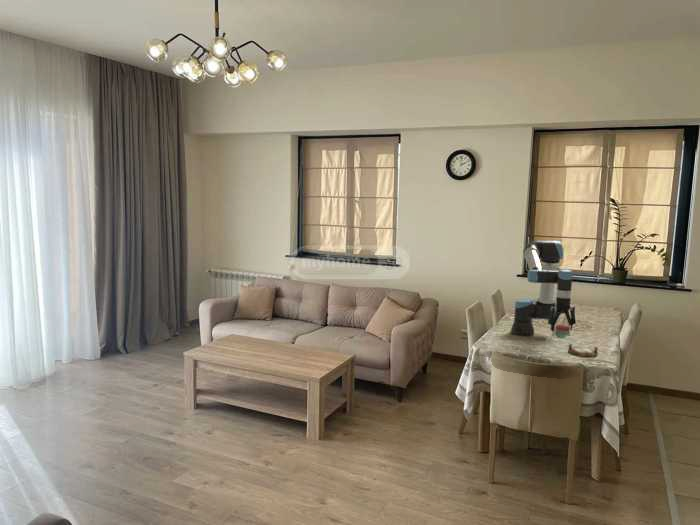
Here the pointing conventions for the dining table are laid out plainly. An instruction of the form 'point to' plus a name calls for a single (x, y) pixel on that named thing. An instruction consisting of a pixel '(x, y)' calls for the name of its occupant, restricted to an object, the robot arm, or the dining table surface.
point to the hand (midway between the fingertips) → (560, 335)
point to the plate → (582, 351)
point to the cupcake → (561, 330)
